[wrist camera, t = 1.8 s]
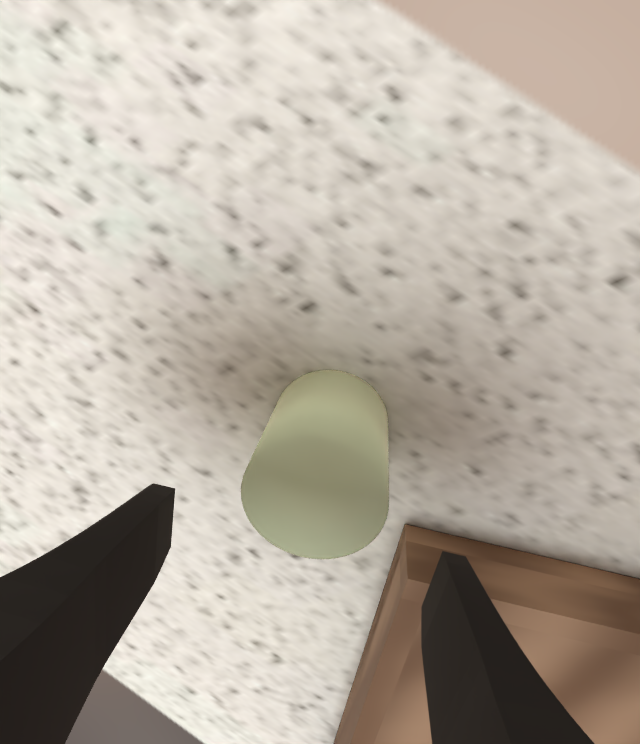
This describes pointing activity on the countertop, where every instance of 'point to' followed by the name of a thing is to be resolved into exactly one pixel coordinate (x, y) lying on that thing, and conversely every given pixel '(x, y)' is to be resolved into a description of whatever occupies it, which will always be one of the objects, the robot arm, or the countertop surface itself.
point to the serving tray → (525, 622)
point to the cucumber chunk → (321, 468)
